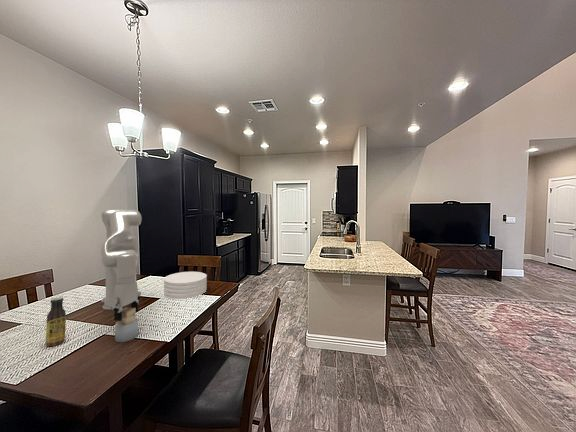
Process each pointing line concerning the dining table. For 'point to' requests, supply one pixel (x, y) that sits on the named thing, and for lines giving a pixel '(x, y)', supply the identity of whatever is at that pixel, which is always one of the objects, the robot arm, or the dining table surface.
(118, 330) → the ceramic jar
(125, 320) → the maple block
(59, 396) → the dining table surface
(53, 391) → the dining table surface
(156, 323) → the dining table surface
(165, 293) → the plate stack
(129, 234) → the robot arm
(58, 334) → the sauce bottle
